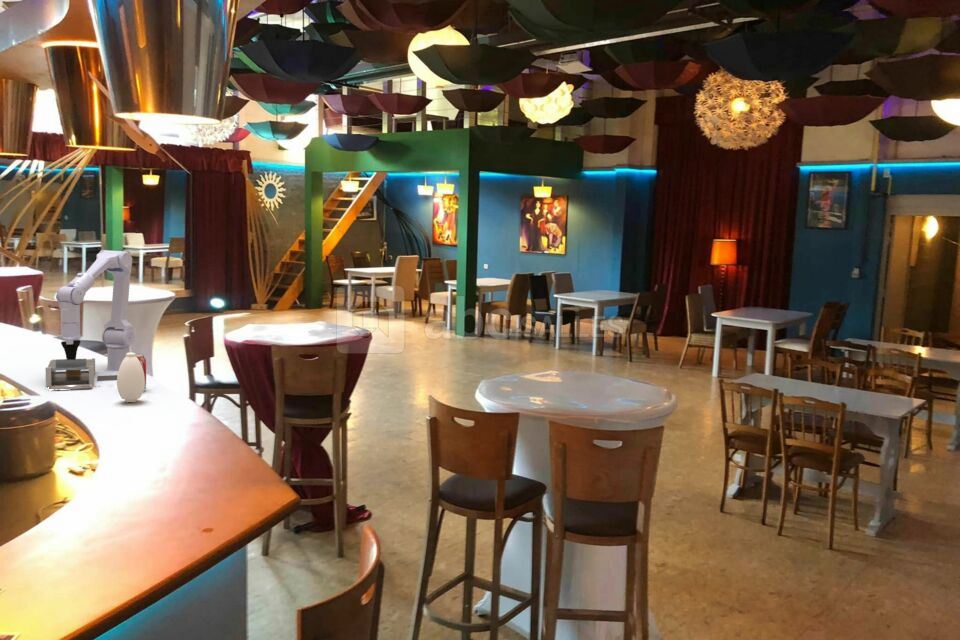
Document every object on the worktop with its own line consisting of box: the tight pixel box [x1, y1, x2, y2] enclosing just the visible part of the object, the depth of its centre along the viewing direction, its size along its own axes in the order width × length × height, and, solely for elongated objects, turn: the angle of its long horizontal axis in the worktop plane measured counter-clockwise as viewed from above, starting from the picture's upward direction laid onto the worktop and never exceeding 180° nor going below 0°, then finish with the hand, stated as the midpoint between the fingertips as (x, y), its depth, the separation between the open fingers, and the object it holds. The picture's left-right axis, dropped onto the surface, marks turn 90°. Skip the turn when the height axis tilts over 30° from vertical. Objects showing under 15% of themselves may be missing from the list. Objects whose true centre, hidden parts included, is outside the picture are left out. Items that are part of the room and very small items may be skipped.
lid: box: [47, 358, 96, 372], centre depth 262 cm, size 15×14×3 cm
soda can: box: [123, 352, 147, 390], centre depth 254 cm, size 7×7×12 cm
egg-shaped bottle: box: [116, 345, 145, 403], centre depth 238 cm, size 8×8×18 cm
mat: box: [96, 374, 118, 382], centre depth 270 cm, size 9×9×1 cm
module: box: [65, 370, 82, 376], centre depth 272 cm, size 4×4×5 cm
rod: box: [48, 383, 94, 390], centre depth 252 cm, size 13×2×2 cm, turn 115°
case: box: [45, 357, 96, 388], centre depth 265 cm, size 24×14×7 cm, turn 25°
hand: (71, 362), depth 261 cm, fingers closed
